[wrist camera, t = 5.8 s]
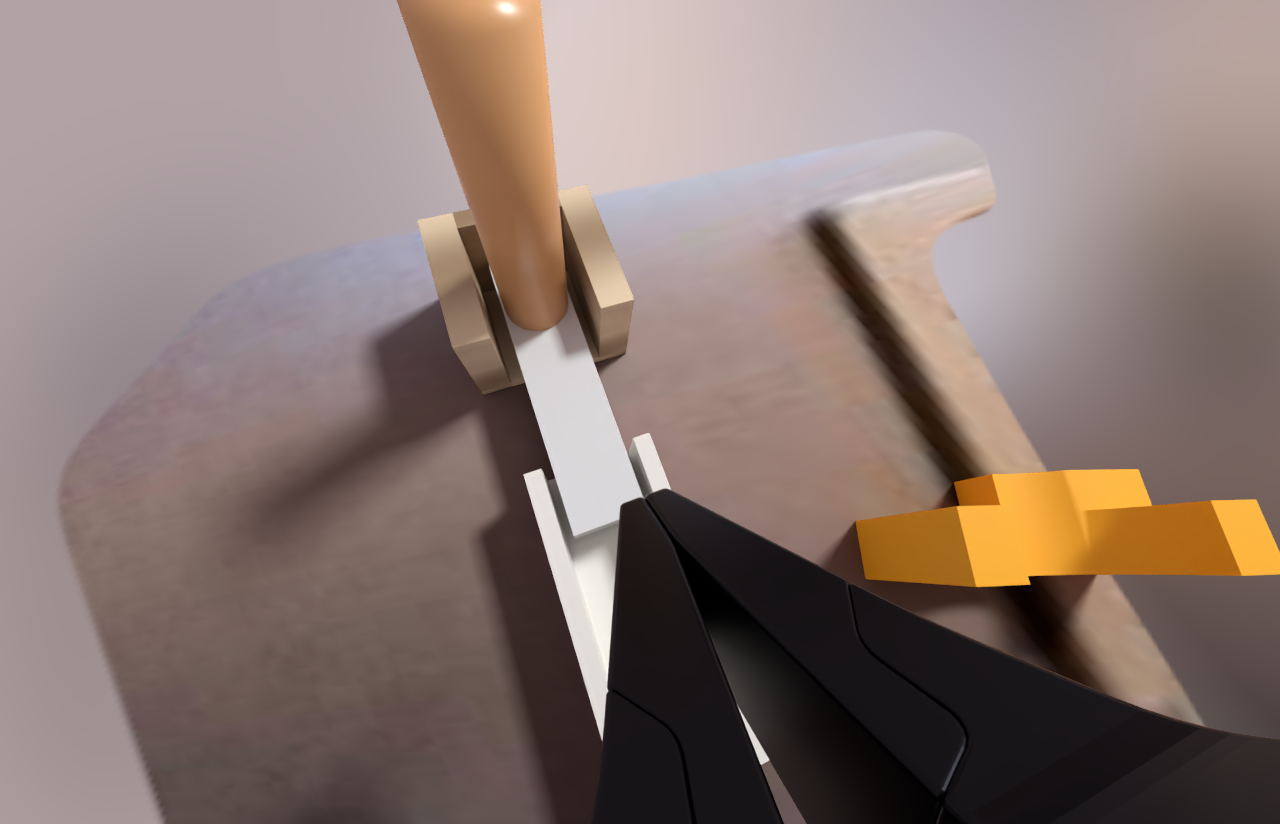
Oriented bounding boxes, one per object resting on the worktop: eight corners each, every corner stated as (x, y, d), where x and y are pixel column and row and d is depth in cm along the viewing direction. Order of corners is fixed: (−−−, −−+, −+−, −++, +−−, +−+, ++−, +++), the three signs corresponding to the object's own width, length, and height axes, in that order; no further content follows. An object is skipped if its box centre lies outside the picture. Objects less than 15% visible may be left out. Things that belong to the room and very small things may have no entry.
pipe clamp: (1066, 481, 23) (1235, 453, 17) (1095, 569, 22) (1289, 573, 16) (846, 484, 22) (944, 455, 16) (863, 579, 21) (976, 587, 15)
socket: (625, 353, 23) (634, 299, 18) (483, 394, 21) (452, 348, 17) (588, 257, 24) (587, 184, 20) (453, 290, 23) (417, 220, 18)
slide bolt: (641, 514, 20) (737, 424, 7) (575, 538, 19) (539, 491, 6) (556, 279, 23) (510, -90, 10) (498, 293, 22) (366, -79, 9)
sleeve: (743, 725, 18) (774, 758, 15) (622, 785, 17) (629, 832, 14) (641, 450, 21) (649, 432, 18) (533, 487, 20) (523, 474, 17)
